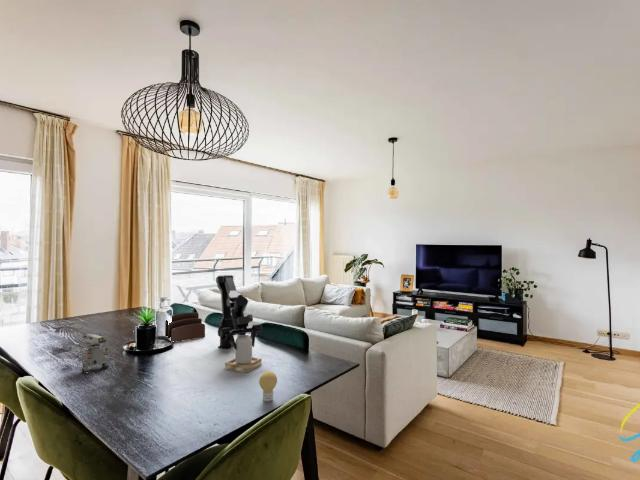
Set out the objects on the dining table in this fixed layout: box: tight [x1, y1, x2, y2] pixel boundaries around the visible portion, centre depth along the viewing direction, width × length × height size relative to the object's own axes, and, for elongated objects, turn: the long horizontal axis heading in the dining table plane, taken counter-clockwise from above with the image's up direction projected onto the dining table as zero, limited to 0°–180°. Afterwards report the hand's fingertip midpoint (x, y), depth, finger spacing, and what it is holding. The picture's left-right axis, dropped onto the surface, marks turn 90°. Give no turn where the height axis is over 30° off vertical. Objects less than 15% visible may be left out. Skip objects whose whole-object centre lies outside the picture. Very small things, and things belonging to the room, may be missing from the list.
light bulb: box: [258, 371, 278, 403], centre depth 122 cm, size 6×6×10 cm
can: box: [234, 334, 253, 365], centre depth 156 cm, size 8×8×12 cm
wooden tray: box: [224, 356, 262, 373], centre depth 155 cm, size 12×12×2 cm
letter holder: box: [164, 311, 206, 343], centre depth 200 cm, size 10×20×14 cm, turn 135°
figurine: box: [76, 333, 109, 373], centre depth 150 cm, size 9×12×15 cm
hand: (244, 347), depth 154 cm, fingers open, 8 cm apart
